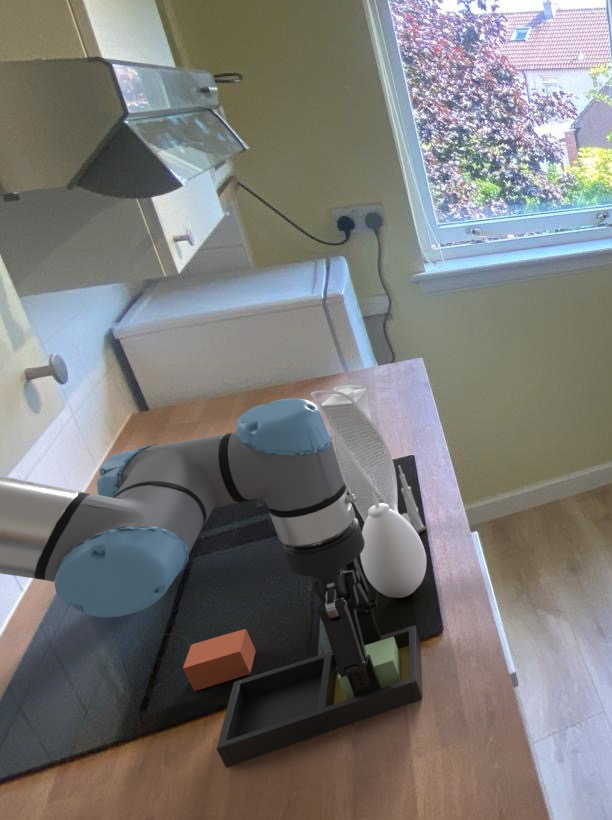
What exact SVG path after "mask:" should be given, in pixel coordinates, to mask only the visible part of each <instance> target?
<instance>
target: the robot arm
mask: <svg viewBox="0 0 612 820" xmlns="http://www.w3.org/2000/svg"><path fill="white" fill-rule="evenodd" d="M235 428H236V430H235V431H233V432H226V433H222V434H216V435H210V436H205V437H199V438H198V437H197V438H192V439H186V440H180V441H174V442H168V443H167V442H166V443H159V444H157V443H154V444H150V445H144V446H142V447H140V448H136V449H132V450H128V451H123V452H119V453H116V454H113V455H111V456H110V457H108V458H106V460H104V462H103V463H102V464H101V466H100V468H99V477H98V478H97V480H96V492H97V494H95V493H88V492H84V491H79V490H73V489H70V488H69V489H68V488H63V487H60V486H53V485H49V484H45V483H39V482H33V481H29V480H25V479H24V480H23V479H20V478H19V479H18V478H14V477H9V476H4V475H0V574H1V575H7V576H8V575H9V576H16V577H22V578H29V579H35V580H36V579H37V580H40V581H47V582H52V583H54V590H55V593H56V594H57V596H58V597H59V599H60V600H61V602H63V603H64V604H65V605H66V606H67V607H72V608H73V609H76V610H77V611H80V613H81V614H84V615H86V616H89V617H90V616H91V617H94V618H95V617H97V618H117V617H118V618H119V617H125V616H129V615H133V614H136V613H138V612H141V611H143V610H146V609H147V608H149V607H151V606H152V605H154V604H156V602H157V603H158V601H159V600H160V599H161V598H162V597H164V595H165V594H166V593H167V591H168V590H169V588H170V587H171V585H172V584H173V582H174V581H175V579H176V578H177V577H178V575H179V574H180V573H181V572H182V571H183V570H184V569H185V568H186V565H187V563H188V560H189V556H190V553H191V551H192V549H193V547H194V545H195V543H196V541H197V539H198V537H199V536H200V534H201V532H202V530H203V529H204V527H205V526H206V524H207V522H208V520H209V518H210V516H211V514H212V512H213V510H214V509H216V508H221V507H227V506H232V505H236V504H241V503H245V502H249V501H252V500H256V499H261V498H262V499H263V501H264V503H265V505H266V508H267V511H268V514H269V516H270V519H271V522H272V524H273V527H274V530H275V532H276V534H277V537H278V541H279V542H281V543H282V545H281V546H282V550H283V552H284V554H285V557H286V559H287V562H288V565H289V567H290V569H291V570H292V572H293V573H295V574H297V575H299V576H305V577H311V578H316V579H315V580H313V587H314V592H315V594H316V595H317V596H318V598H319V601H320V603H319V604H317V606H316V612H317V614H318V615H319V617H320V620H321V622H322V624H323V627H324V630H325V633H326V636H327V640H328V642H329V645H330V649H331V651H332V652H333V655H334V658H335V661H336V664H337V666H336V668H335V672H336V673H338V672H339V675H340V677H344V676H347V678H348V680H349V683H350V686H351V688H352V691H353V694H354V696H355V697H357V696H360V695H363V694H366V693H369V692H372V691H375V690H378V689H381V685H380V682H379V680H378V677H377V674H376V671H375V668H374V665H373V663H372V660H371V657H370V654H369V655H367V654H366V650H365V645H368V644H371V643H374V642H378V641H381V640H382V639H381V636H382V635H381V633H380V630H379V628H378V625H377V621H376V618H375V615H374V612H373V610H372V609H375V608H377V607H378V602H377V599H376V598H373V599H369V598H370V597H371V590H370V589H369V586H368V584H367V581H366V579H365V576H364V574H363V571H362V569H361V566H360V563H359V561H358V558H359V557H360V554H361V552H362V551H363V549H364V545H365V541H364V538H363V535H362V529H361V525H360V523H359V520H358V519H357V518H356V513H355V510H354V506H353V504H354V502H356V500H357V499H356V496H355V495H354V494H353V495H350V494H349V495H348V489H347V487H346V485H345V482H344V479H343V476H342V473H341V470H340V466H339V463H338V460H337V456H336V452H335V445H334V442H333V436H332V434H331V432H330V431H329V430H328V428H327V425H326V423H325V420H324V418H323V415H322V413H321V409H319V406H317V405H316V404H315V403H314V402H312V401H310V400H307V399H302V398H282V399H277V400H276V399H275V400H272V401H270V402H268V403H266V404H265V403H264V404H258V405H256V406H254V407H251V408H250V409H248V410H246V411H245V412H243V414H241V415H240V416H239V417H238V418H237V421H236V424H235ZM369 610H371V611H369Z"/></svg>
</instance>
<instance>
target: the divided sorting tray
mask: <svg viewBox="0 0 612 820" xmlns="http://www.w3.org/2000/svg"><path fill="white" fill-rule="evenodd" d="M380 636H381V639H382V640H384V639H387V638H390V637H394V639H395V642H396V645H397V648H398V651H399V654H400V657H401V682H399V683H396V684H393V685H390V686H387V687H384V688H381V689H378V690H375V691H372V692H369V693H366V694H363V695H360V696H357V697H354V698H351V699H348V700H347V699H346V696H345V694H344V691H343V689H342V686H341V684H340V681H339V679H338V676H339V672H338V673H336V672H335V668H336V666H337V664H336V661H335V658H334V655H333V652H332V650H331V651H328V652H325V653H322V654H319V655H316V656H312V657H309V658H306V659H302V660H299V661H296V662H293V663H290V664H287V665H284V666H280V667H277V668H273V669H271V670H268V671H264V672H261V673H258V674H255V675H254V674H253V675H252V676H248V677H246V678H242V679H239V680H236V681H233V685H232V688H231V692H230V696H229V699H228V704H227V708H226V711H225V715H224V719H223V723H222V726H221V728H220V729H221V730H220V733H219V738H218V741H217V745H216V747H215V748H216V751H217V753H218V755H219V757H220V759H221V760H222V763H223V765H224V767H225V768H229V767H231V766H233V765H238V764H241V763H243V762H246V761H248V760H251V759H254V758H257V757H259V756H262V755H266V754H269V753H272V752H273V751H277V750H280V749H283V748H286V747H289V746H291V745H294V744H297V743H300V742H303V741H306V740H309V739H311V738H315V737H318V736H320V735H322V734H326V733H328V732H332V731H335V730H337V729H340V728H344V727H345V726H349V725H351V724H354V723H357V722H360V721H363V720H365V719H370V718H371V717H374V716H377V715H381V714H383V713H386V712H389V711H392V710H395V709H398V708H400V707H403V706H406V705H409V704H411V703H415V702H417V701H420V700H422V699H423V676H422V643H421V639H420V636H419V633H418V629H417V627H416V625H411V626H408V627H405V628H402V629H399V630H395V631H392V632H389V633H386V634H383V635H380Z"/></svg>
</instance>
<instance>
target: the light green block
mask: <svg viewBox="0 0 612 820" xmlns="http://www.w3.org/2000/svg"><path fill="white" fill-rule="evenodd" d="M365 650H366V654H367V655H369V654H370V657H371V660H372V663H373V665H374V668H375V671H376V674H377V677H378V680H379V682H380V685H381V688H384V687H387V686H390V685H393V684H396V683H399V682H401V657H400V654H399V651H398V648H397V645H396V642H395V639H394V637H390V638H387V639H384V640H381V641H378V642H374V643H371V644H368V645H365ZM338 679H339V681H340V684H341V686H342V689H343V691H344V694H345V696H346V699H347V700H348V699H351V698H354V697H355V696H354V694H353V691H352V688H351V686H350V683H349V680H348V678H347V676H344V677H340V675H339V676H338Z"/></svg>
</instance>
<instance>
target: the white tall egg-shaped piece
mask: <svg viewBox="0 0 612 820" xmlns="http://www.w3.org/2000/svg"><path fill="white" fill-rule="evenodd" d="M372 495H373V500H374V504H375V505H373V506H372V507H370V508H369V510H368V515H369V516H368V517H367V519H366V521H365V523H363V526H362V529H361V532H362V535H363V538H364V541H365V545H364V549H363V551H362V552H361V554H360V555H359V557H360V563H361V566H362V569H363V572H364V575H365V577H366V579H367V580H368V582H369V583H370V585H371V586H372V587H373V588H374V589H375V590H376V591H378V593H381V594H382V595H384V596H386V597H389V598H397V599H402V598H406V597H409V596H410V595H412V594H413V593H414V592H416V590H417V589H418V588H419V587H420V586H421V584H422V583H423V581H424V579H425V576H426V572H427V571H426V570H427V554H426V550H425V546H424V544H423V542H422V540H421V539H422V538H421V537H420V535H419V533H418V534H417V532H416V531H415V529H414V528H413V527H412V525H411V524H410V523H409V522H408V521H407V520H406V519H405V518H404V517H403V516H401V515H402V514H400V513H399V512H398V513H397V512H396V511H394V510H392V509H390V508H389V505H387V504H385V503H378V500H377V498H376V495H375V493H374V492H372Z"/></svg>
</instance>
